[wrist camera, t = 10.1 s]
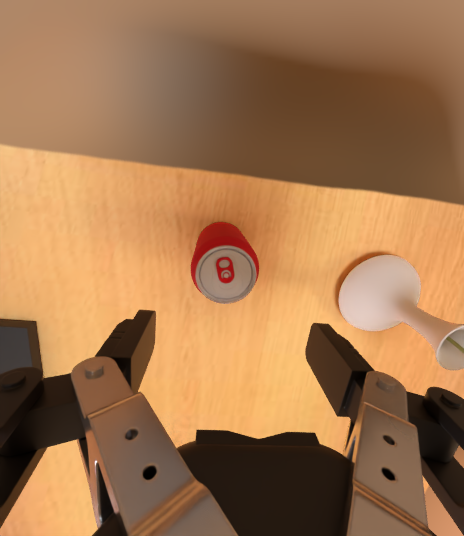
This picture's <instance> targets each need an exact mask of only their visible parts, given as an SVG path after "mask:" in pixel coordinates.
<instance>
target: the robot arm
mask: <svg viewBox="0 0 464 536" xmlns="http://www.w3.org/2000/svg"><path fill="white" fill-rule="evenodd" d="M155 326H156V312H155V311H151V310H139V311H138V312H137V314H136V316H135V317H134V319H126V320H124V321H122V322H121V323H119V324H118V325H117V326H116V328H115V329H114V330H113V333H111V335H110V336H109V338H108V339H107V340H106V341H105V343H104V344H103V346H102V347H101V348H100V350H99V351H98V353H97V354H96V355H95V357H93V358H89V359H87V360H84V361H82V362H81V363H79V364H78V365H76V366H75V367H74V369H73V370H72V372H71V373H70V374H65V375H60V376H54V377H48V378H43V376H42V372H41V370H39V369H38V368H35V367H20V368H16V369H12V370H9V371H6V372H4V373H2V374H0V528H1V526H2V525H3V523H4V521H5V519H6V518H7V516H8V514H9V513H10V511H11V509H12V507H13V506H14V504H15V502H16V501H17V499H18V497H19V495H20V494H21V492H22V490H23V488H24V487H25V485H26V483H27V482H28V480H29V478H30V476H31V475H32V473H33V471H34V470H35V468H36V466H37V464H38V463H39V461H40V459H41V458H42V456H43V454H44V452H45V451H46V449H47V447H50V446H54V445H57V444H61V443H65V442H69V441H72V440H76V439H77V443H78V446H79V450H80V454H81V457H82V461H83V465H84V469H85V472H86V476H87V480H88V483H89V487H90V492H91V498H92V504H93V509H94V514H95V519H96V523H97V526H98V530H97V531H96V532H95V533H94V534H93V535H92V536H436V535H435V534H434V533H433V532H432V531H431V530H430V529H429V528H428V522H427V514H426V505H425V497H424V487H423V478H422V475H423V477H424V478H425V479H426V481H427V482H428V484H429V485H430V487H431V488H432V490H433V491H434V493H435V494H436V496H437V497H438V498H439V500H440V501H441V503H442V504H443V506H444V507H445V509H446V510H447V512H448V513H449V514H450V516H451V517H452V519H453V520H454V522H455V523H456V525H457V526H458V528H459V529H460V531H461V532H462V534H463V535H464V468H463V467H462V466H461V465H460V464H459V462H458V461H457V460H456V459H455V458H454V457H453V455H454V453H455V451H456V450H457V448H458V446H459V445H460V447H461V448H462V449H463V450H464V399H462V398H461V397H459V396H458V395H456V394H454V393H452V392H450V391H448V390H445V389H442V388H439V387H430V388H428V390H427V392H426V394H425V396H421V395H418V394H414V393H410V392H407V391H406V389H405V388H404V386H403V385H402V384H401V383H400V382H399V381H397V380H396V379H395V378H393V377H391V376H389V375H387V374H385V373H382V372H378V371H375V370H374V369H373V368H372V367H371V366H370V365H369V364H368V363H367V361H366V360H365V359H364V358H363V357H362V356H361V355H360V354H359V352H358V351H357V350H356V349H354V347H353V346H352V345H351V344H350V342H349V341H348V340H346V339H345V338H343V337H342V336H341V335H339V334H337V333H336V332H335V330H334V329H333V328H332V327H331V326H330V325H329V324H322V323H313V324H312V326H311V330H310V334H309V338H308V342H307V346H306V359H307V362H308V364H309V365H310V367H311V369H312V371H313V373H314V375H315V376H316V378H317V380H318V382H319V384H320V386H321V387H322V389H323V391H324V393H325V395H326V397H327V398H328V400H329V402H330V404H331V406H332V408H333V409H334V411H335V413H336V415H337V416H340V417H350V419H351V420H350V423H349V426H348V431H347V436H346V440H345V445H344V450H343V455H342V454H340V453H339V452H337V451H335V450H333V449H331V448H329V447H326V446H324V445H321V444H319V441H318V439H317V436H316V434H315V433H306V432H285V433H281V434H278V435H274V436H270V437H266V438H262V439H256V438H252V437H249V436H245V435H241V434H238V433H234V432H230V431H224V430H197V432H196V441H193V442H189V443H187V444H184V445H182V446H180V447H178V448H176V447H175V445H174V444H173V442H172V440H171V439H170V437H169V435H168V434H167V432H166V431H165V429H164V427H163V426H162V424H161V422H160V421H159V419H158V417H157V416H156V414H155V413H154V411H153V409H152V408H151V406H150V404H149V403H148V401H147V399H146V398H145V396H144V395H143V394H142V393H141V392H138V390H139V387H140V384H141V382H142V379H143V376H144V374H145V371H146V368H147V366H148V363H149V360H150V358H151V355H152V353H153V349H154V344H155ZM137 392H138V393H137Z"/></svg>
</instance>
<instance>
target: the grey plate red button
mask: <svg viewBox="0 0 464 536" xmlns="http://www.w3.org/2000/svg"><path fill="white" fill-rule="evenodd" d="M20 367H35V368H38V369H39V370H41V372H42V365H41V357H40V350H39V342H38V335H37V327H36V322H35V321H20V320H5V319H0V374H2V373H4V372H6V371H9V370H12V369H16V368H20ZM42 376H43V372H42Z"/></svg>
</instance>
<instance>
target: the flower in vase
mask: <svg viewBox="0 0 464 536" xmlns="http://www.w3.org/2000/svg"><path fill="white" fill-rule="evenodd" d="M420 291H421V283H420V278H419V275H418V273H417V271H416V270H415V269H414V267H413V266H412V265H411V264H410V263H409V262H408V261H406V260H405V259H403V258H401V257H398V256H395V255H380V256H376V257H372V258H370V259H368V260H366V261H364V262H362V263H360V264H359V265H357V266H356V267H355V268H354V269H353V270H352V271H351V272H350V273H349V274H348V275H347V277H346V278H345V280H344V282H343V284H342V286H341V289H340V293H339V308H340V311H341V314H342V316H343V317H344V319H345V320H346V321H347V322H348V323H349V324H351V325H352V326H354V327H356V328H359V329H362V330H366V331H381V330H385V329H389V328H392V327H394V326H396V325H398V324H400V323H401V322H404V323H406V324H407V325H409V326H411V327H412V328H413V329H415V330H416V331H417V332H419V333H420V334H421V335H422V336H423V337H424V338H425V339H426V340H427V341H428V342H429V343H430V344H431V346H432V347H433V349H434V351H435V355H436V359H437V361H438V363H439V364H440V366H442V367H443V368H445V369H447V370H460V369H464V324H454V323H450V322H447V321H444V320H441V319H439V318H436V317H434V316H432V315H430V314H428V313H426V312H424V311H423V310H421V309H420V308H418V307H417V304H418V301H419V298H420Z"/></svg>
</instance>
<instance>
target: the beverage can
mask: <svg viewBox="0 0 464 536" xmlns="http://www.w3.org/2000/svg"><path fill="white" fill-rule="evenodd" d="M258 274H259V262H258V258H257V256H256V254H255V252H254V250H253V249H252V247H251V246H250V244H249V243H248V242H247V240H246V239H245V237H244V236H243V234H242V233H241V231H240V230H239V229H238V228H237V227H235V226H234V225H232V224H229V223H225V222H217V223H213V224H211V225H209V226H207V227H206V228H205V229H204V230H203V231H202V232H201V234H200V235H199V238H198V241H197V244H196V248H195V251H194V255H193V258H192V262H191V276H192V279H193V282H194V284H195V286H196V287H197V289H198V290H199V291H200V292H201V293H202V294H203V295H204V296H206V297H207V298H208V299H210V300H212V301H214V302H217V303H223V304H229V303H234V302H237V301H239V300H241V299H243V298H244V297H246V296H247V295H248V294H249V293H250V291H251V290H252V288H253V287H254V285H255V283H256V281H257V278H258Z"/></svg>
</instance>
